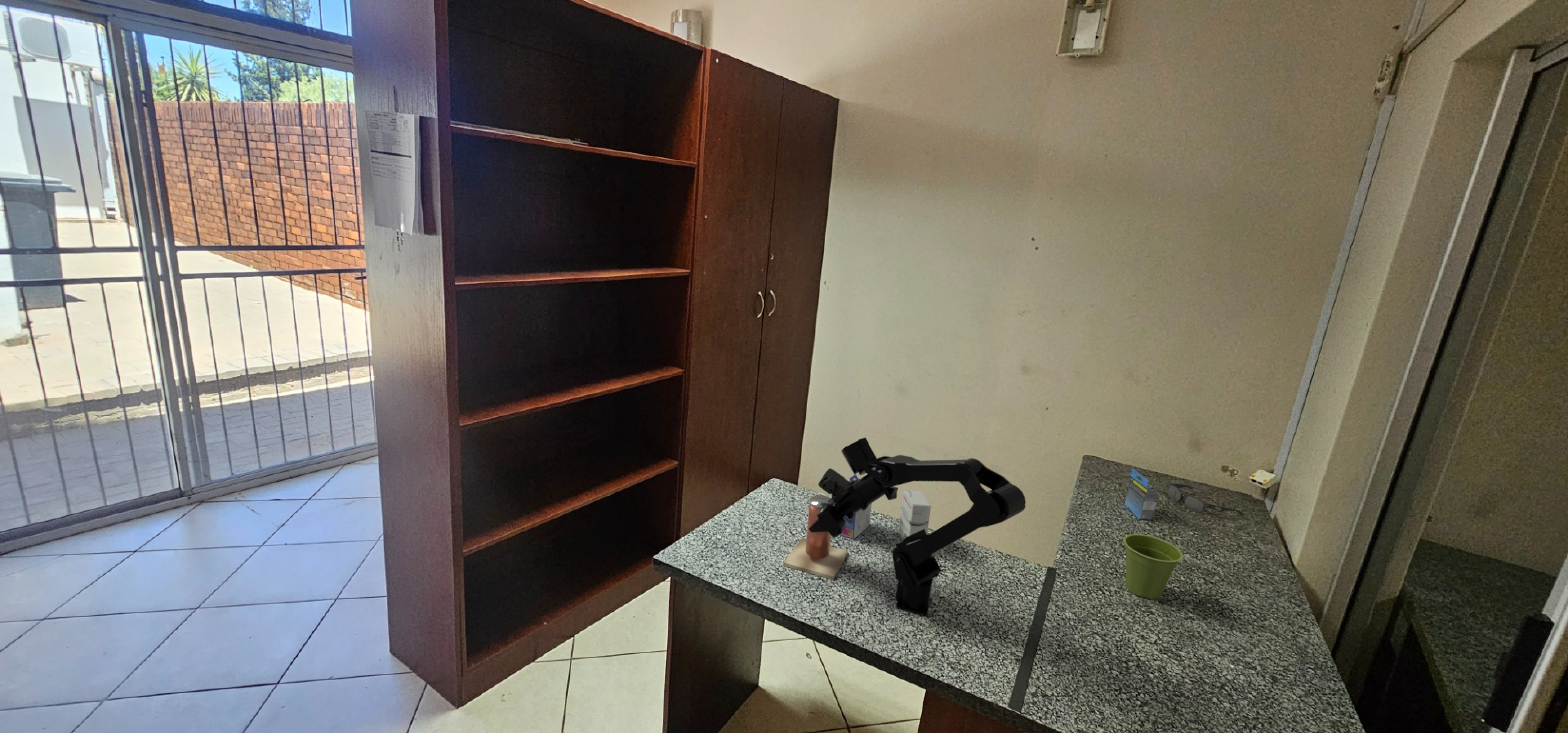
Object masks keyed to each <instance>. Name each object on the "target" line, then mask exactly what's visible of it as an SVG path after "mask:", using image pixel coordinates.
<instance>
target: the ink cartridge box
mask: <svg viewBox="0 0 1568 733" xmlns="http://www.w3.org/2000/svg"><path fill="white" fill-rule="evenodd" d="M859 479H860V478H858V476H857V474H855V475H854V474H853V476H851V477H850V478H849V481H853V480H857V481H858V480H859ZM872 503H873V502H872ZM872 503H871V504H869V506H868V507H867V509H865V510H864V511H863V510H862V509H861V510H860V511H858V512H857V513H855V515H854V516H853V518H851V519H850V520H849V518H848V517H847V516H846V515H845V516H844V518H843V519H844V520H845V521H846V525H845V528H844V530H843V532H842V533H841V534H840V535H841V536H844V537H847V538H849V539H851V540H854V539H856V538H857V537H858V536H859V535H860V534H861V533H862V532H864V531H865V530H866V529H867V528H868V527H869V526H870V525H871V524H870V523H871V513H872Z"/></svg>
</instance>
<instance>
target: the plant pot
mask: <svg viewBox="0 0 1568 733" xmlns="http://www.w3.org/2000/svg"><path fill="white" fill-rule="evenodd" d="M1122 541H1123V542H1122V543H1123V544H1124V546H1125V548H1124V549H1125V550H1124V551H1125V555H1126V556H1125V586H1126V588H1127V589H1128V591H1130V592H1131V593H1133V594H1134V595H1136V596H1138V597H1144V598H1146V599H1150V600H1155V599H1157V600H1158V599H1160V598H1161V597H1162V595H1163V593H1164V591H1165V589H1166V586H1167V584H1168V582H1169V580H1170V578H1171V576H1172V573H1173V571H1174V569H1175V568H1177V565H1178V563H1180V562H1181V561H1182V560H1183V559H1184V553H1183V552H1182V551H1181V549H1179V548H1178V547H1177V546H1175V545H1174V544H1172V543H1171V542H1169V541H1166V540H1164V539H1161V538H1160V537H1155V536H1152V535H1147V534H1143V533H1142V534H1141V533H1130V534H1127V535H1125V536H1124V537H1123V540H1122Z"/></svg>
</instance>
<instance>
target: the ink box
mask: <svg viewBox="0 0 1568 733" xmlns="http://www.w3.org/2000/svg"><path fill="white" fill-rule="evenodd" d="M901 501H902V502H901V507H900V515H899V521H898V522H899V523H898V529H897V530H898V534H899V535H900V537H901V539H902V540H904V539H905V538H906V537H908V536H910V535H912V534H914V533H916V532H918V531H920V530H923V529H925V532H926V534H927V535H928V531H929V523H930V515H931V509H932V508H931V507H932V505H931V504H930V503H929V501H928V500H927V498H926V497H925V495H924V494H923V492H922V491H918V490H903V493H902V500H901Z"/></svg>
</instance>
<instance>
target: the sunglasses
mask: <svg viewBox="0 0 1568 733" xmlns="http://www.w3.org/2000/svg"><path fill="white" fill-rule="evenodd" d="M1167 484H1168V485H1167V495H1169V496H1168V498H1169V497H1171V498H1172V499H1174V500H1175V501H1176V502H1180V501H1182V500H1183V499H1184V503H1185V507H1186V508H1187V509H1188V508H1189V509H1191V510H1192V512H1194V513H1196V514H1200V513H1202V512H1203V510H1205V509H1211V510H1212V509H1213V510H1215V511H1218V512H1220V513H1222V512H1227V511H1228V512H1236V513H1238V514H1239V515H1242V514H1241V513H1243V512H1242V511H1240V510H1238V509H1235V508H1232V507H1226V506H1221V505H1216V504H1211V503H1208V502H1206V501H1204V500H1203V499H1201V498H1199V497H1197V496H1195V495H1192V494H1187V493H1185V492H1184V491H1182V490H1181V488H1188V489H1191V490H1193V491H1194V492H1196V493H1197V492H1202V491H1201V490H1199V489H1197V488H1196V487H1194V486H1191V485H1187V484H1182V483H1174V482H1173V483H1171V482H1170V483H1167ZM1183 496H1184V497H1183ZM1172 499H1171V500H1172ZM1175 501H1174V502H1175ZM1189 509H1188V510H1189ZM1191 510H1190V511H1191Z"/></svg>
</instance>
